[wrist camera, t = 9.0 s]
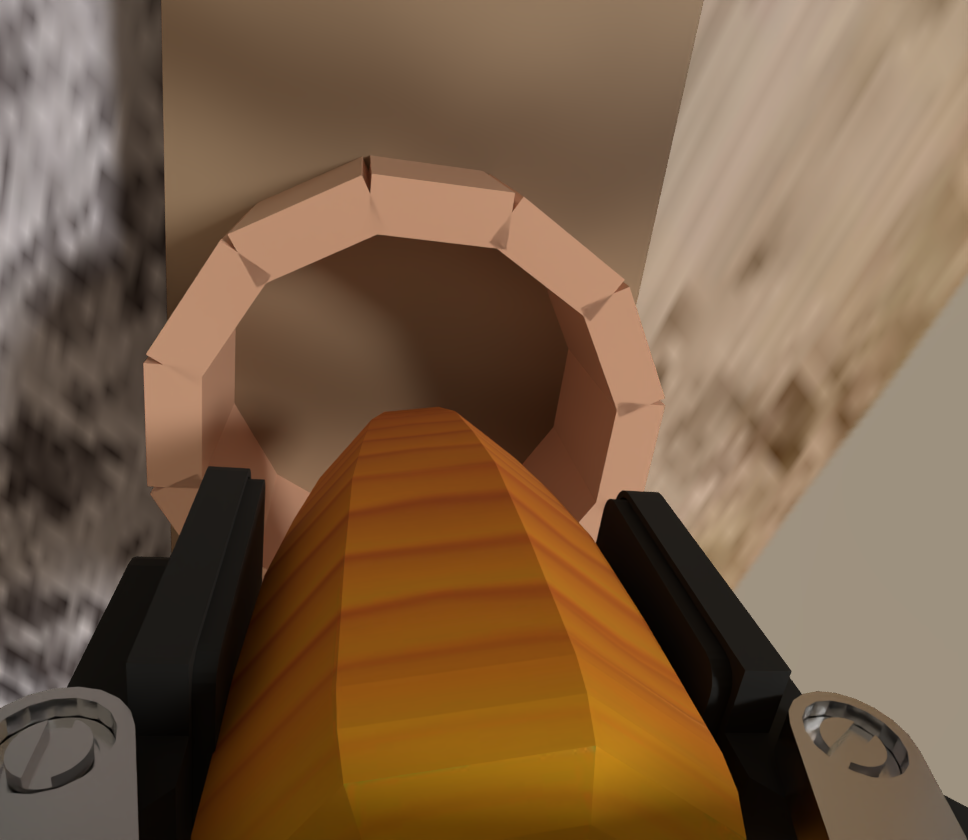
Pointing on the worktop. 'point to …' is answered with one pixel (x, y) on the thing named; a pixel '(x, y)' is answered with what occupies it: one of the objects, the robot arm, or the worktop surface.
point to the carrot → (453, 668)
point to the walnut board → (421, 138)
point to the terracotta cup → (418, 215)
